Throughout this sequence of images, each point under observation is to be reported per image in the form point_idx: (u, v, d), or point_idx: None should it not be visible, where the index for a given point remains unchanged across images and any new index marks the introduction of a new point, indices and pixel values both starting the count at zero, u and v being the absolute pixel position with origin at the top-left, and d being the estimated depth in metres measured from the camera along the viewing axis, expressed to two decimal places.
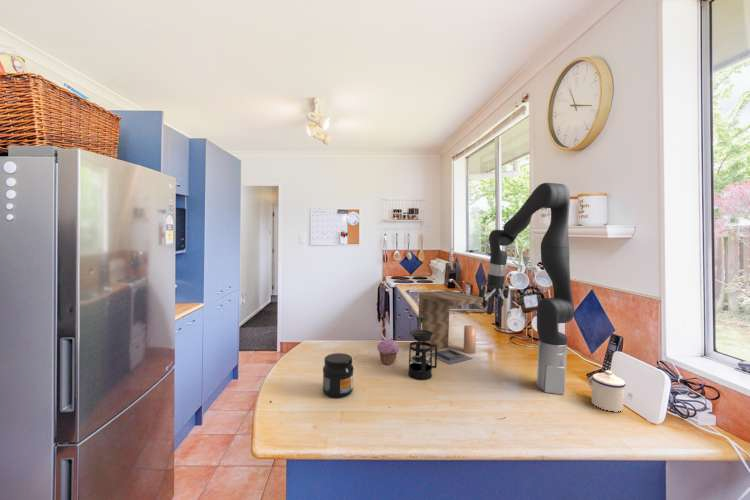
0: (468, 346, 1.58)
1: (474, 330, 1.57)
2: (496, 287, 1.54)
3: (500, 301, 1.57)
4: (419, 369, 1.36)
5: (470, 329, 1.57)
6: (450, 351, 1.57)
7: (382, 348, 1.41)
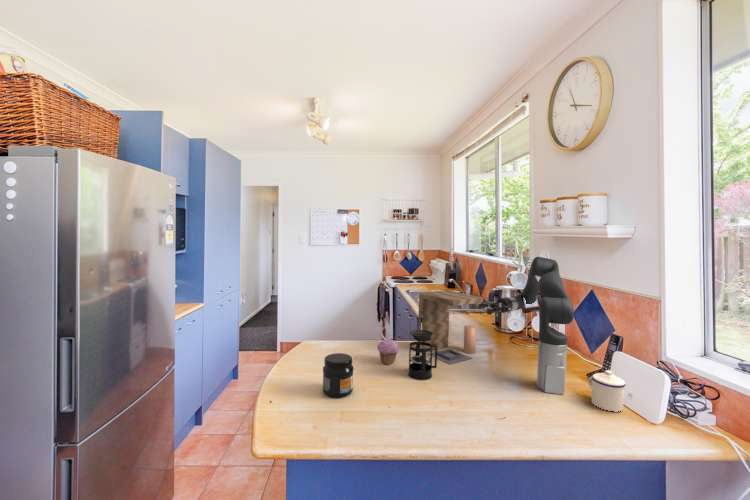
0: (468, 346, 1.58)
1: (474, 330, 1.57)
2: (499, 303, 1.71)
3: None
4: (419, 369, 1.36)
5: (470, 329, 1.57)
6: (450, 351, 1.57)
7: (382, 348, 1.41)
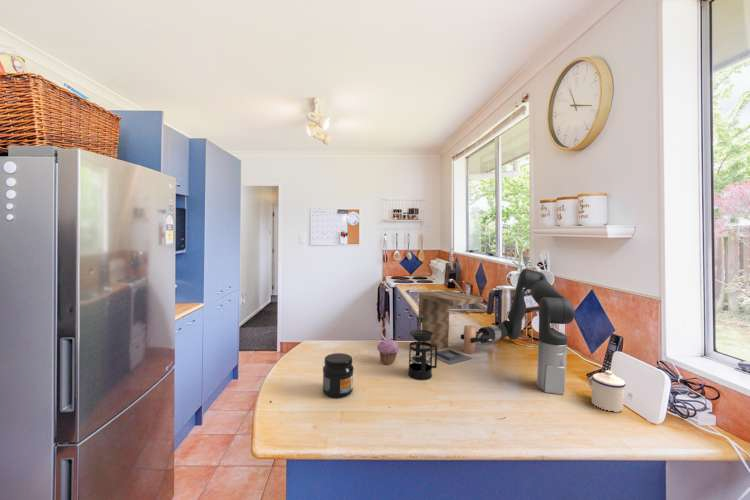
0: (468, 346, 1.58)
1: (474, 330, 1.57)
2: None
3: None
4: (419, 369, 1.36)
5: (470, 329, 1.57)
6: (450, 351, 1.57)
7: (382, 348, 1.41)
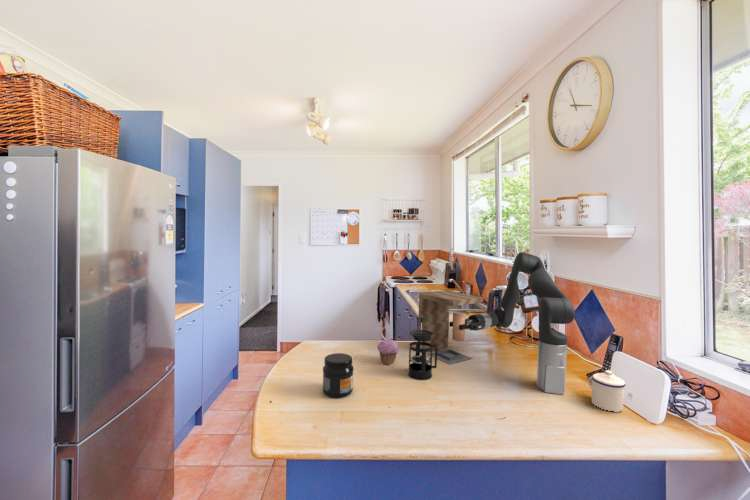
0: (457, 333, 1.53)
1: (463, 317, 1.53)
2: None
3: None
4: (419, 369, 1.36)
5: (459, 316, 1.53)
6: (450, 351, 1.57)
7: (382, 348, 1.41)
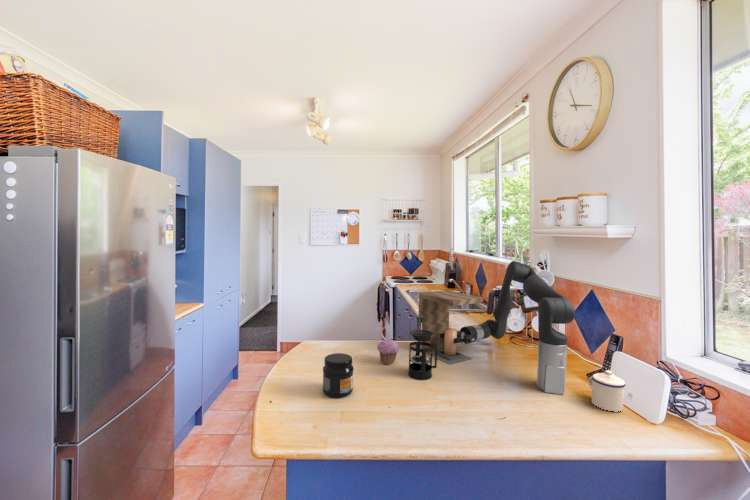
0: (448, 350, 1.51)
1: (455, 333, 1.50)
2: None
3: None
4: (419, 369, 1.36)
5: (450, 332, 1.50)
6: None
7: (382, 348, 1.41)
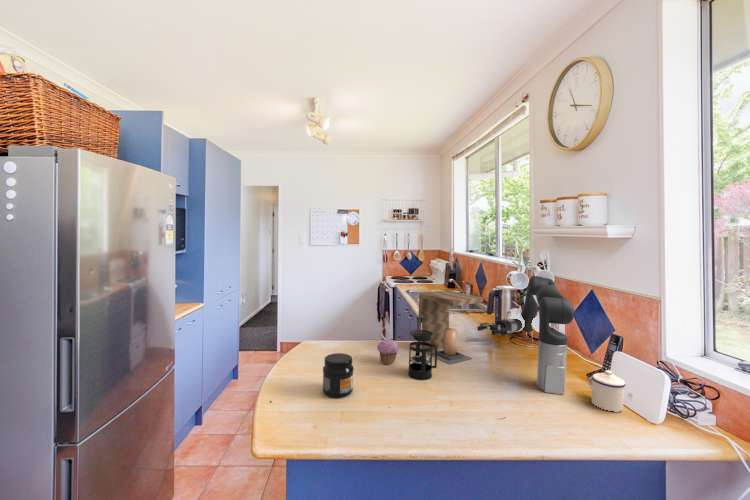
0: (448, 350, 1.51)
1: (454, 333, 1.51)
2: (498, 326, 1.71)
3: None
4: (419, 369, 1.36)
5: (450, 332, 1.50)
6: None
7: (382, 348, 1.41)
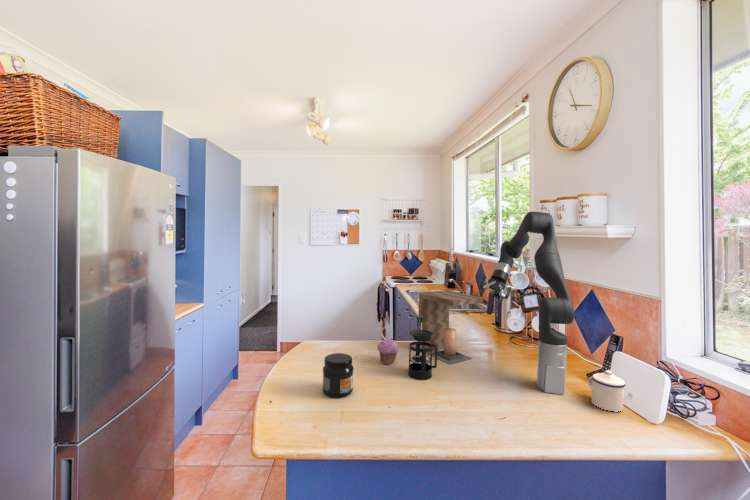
0: (447, 350, 1.51)
1: (453, 333, 1.50)
2: (497, 282, 1.63)
3: (500, 298, 1.59)
4: (419, 369, 1.36)
5: (449, 332, 1.50)
6: None
7: (382, 348, 1.41)
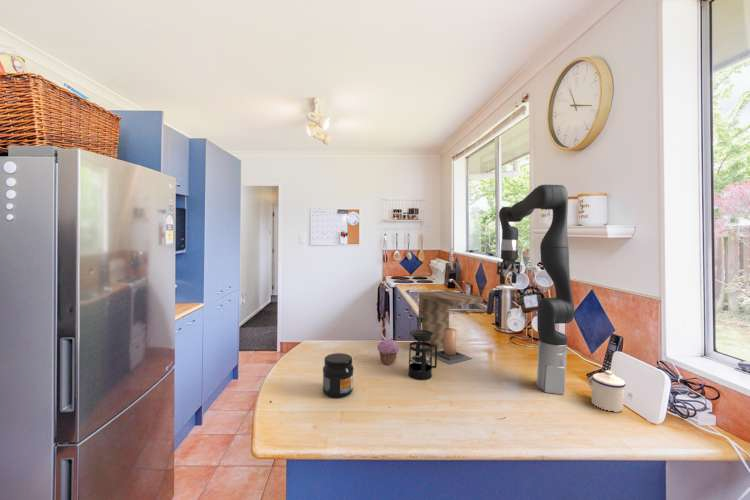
0: (447, 350, 1.51)
1: (453, 333, 1.50)
2: (511, 263, 1.58)
3: (514, 277, 1.61)
4: (419, 369, 1.36)
5: (449, 332, 1.50)
6: None
7: (382, 348, 1.41)
